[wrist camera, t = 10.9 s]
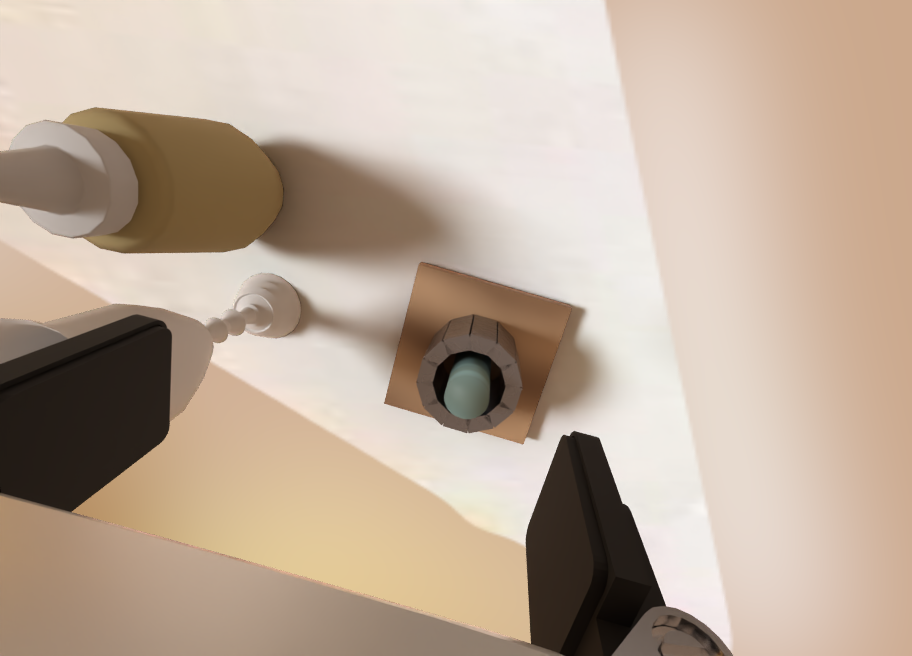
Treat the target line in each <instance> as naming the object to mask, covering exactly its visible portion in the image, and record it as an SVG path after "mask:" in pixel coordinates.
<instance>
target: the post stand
mask: <svg viewBox="0 0 912 656" xmlns="http://www.w3.org/2000/svg"><path fill="white" fill-rule="evenodd" d="M571 310H572V308H571V306H570V305H568V304H565V303H561V302H558V301H555V300H551V299H548V298H544V297H541V296H537V295H534V294H530V293H527V292H523V291H520V290H516V289H513V288H509V287H506V286H503V285H499V284H496V283H492V282H489V281H485V280H482V279H478V278H475V277H471V276H468V275H464V274H461V273H457V272H454V271H450V270H447V269H444V268H440V267H437V266H433V265H430V264H426V263H423V262H421V263H420V264H419V266H418V270H417V274H416V278H415V282H414V286H413V290H412V294H411V298H410V302H409V306H408V310H407V314H406V318H405V322H404V326H403V330H402V334H401V338H400V342H399V346H398V350H397V354H396V358H395V362H394V366H393V370H392V374H391V378H390V382H389V386H388V390H387V394H386V398H385V402H384V404H388V405H391V406H394V407H398V408H401V409H405V410H408V411H411V412H415V413H418V414H422V415H425V416H428V417H432V418H434V417H433V416H432V415H431V414H430V413H429V412H428V411H426V410H425V409H424V406H423V405H422V402H421V398H420V395H419V391H418V388H417V385H416V383H417V382H416V381H417V377H418V373H419V370H420V366H421V363H422V359H423V357H424V355H425V353H426V351H427V349H428V347H429V345H430V343H431V341H432V339H433V337H434V335H435V334H436V333H437V332H438V331H439V330H440V329H441V328H442V327H443V326H444V325H445V324H446V323H448V322H449V321H450V320H452V319H455V318H459V317H463V316H468V315H472V314H474V316H475V314H476V315H479V316H483V317H486V318H490V319H493V320H496V321H497V322H499V323H500V324H501V325H502V326H503V327H504V328H505V329H506V330H507V331H508V332H509V333H510V334H511V335H512V336H513V337H514V339H515V344H516V348H517V352H518V356H519V362H520V370H521V378H522V391H521V394H520V397H519V400H518V403H517V405H516V408H515V411H513V412H514V413H512V414H511V415H510V416H509V417H507V418H506V419H505V420H504V421H503V422H501V423H500V424H499V425H498V426H496V427H495V428H494V427H493V429H489V430H483V431H480V432H483V433H486V434H490V435H493V436H497V437H500V438H503V439H507V440H510V441H514V442H517V443H520V444H524V441H525V438H526V435H527V433H528V430H529V427H530V424H531V421H532V419H533V416H534V413H535V410H536V408H537V405H538V402H539V399H540V396H541V394H542V391H543V388H544V385H545V382H546V380H547V377H548V374H549V371H550V368H551V366H552V363H553V360H554V357H555V355H556V352H557V349H558V346H559V343H560V341H561V338H562V335H563V332H564V329H565V327H566V324H567V321H568V318H569V316H570V313H571ZM443 362H444V366H445V369H446V372H447V373H448V374H449V375H450V377H449V380H448V383H447V387H446V390H445V394H444V401H445V404H446V407H447V408H448V410H449V411H450V412H451V413H452V414H453V415H455V416H457V417H459V418H462V419H473V418H476V417H478V416H480V415H481V414H483V413H484V412H485V410H486V409H487V407H488V404H489V393H490V383H491V382H492V381H493V380H494V379H495V378H496V377H498V376H499V375H500V373H501V370H502V369H501V368H500V367H499V366H498V365H497V364H496V363H495V362H494V361H493V360H492V359H491V358H490V357H489V356H487V355H484V354H480V353H477V352H474V351H470V350H468V351H464V352H459V353H454V354H450V355H449V356H448V357H447V358H446V359H445V360H444V361H443Z"/></svg>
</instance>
